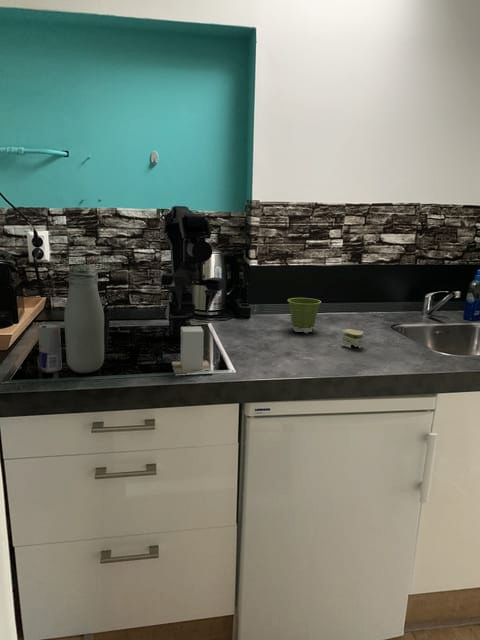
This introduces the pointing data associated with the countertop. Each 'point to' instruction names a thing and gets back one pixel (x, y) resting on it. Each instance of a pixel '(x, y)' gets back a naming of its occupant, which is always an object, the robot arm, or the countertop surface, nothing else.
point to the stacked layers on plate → (352, 336)
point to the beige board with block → (179, 370)
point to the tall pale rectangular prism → (192, 348)
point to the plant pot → (303, 311)
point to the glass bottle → (84, 321)
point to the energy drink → (50, 348)
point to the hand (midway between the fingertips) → (192, 310)
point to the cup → (106, 328)
